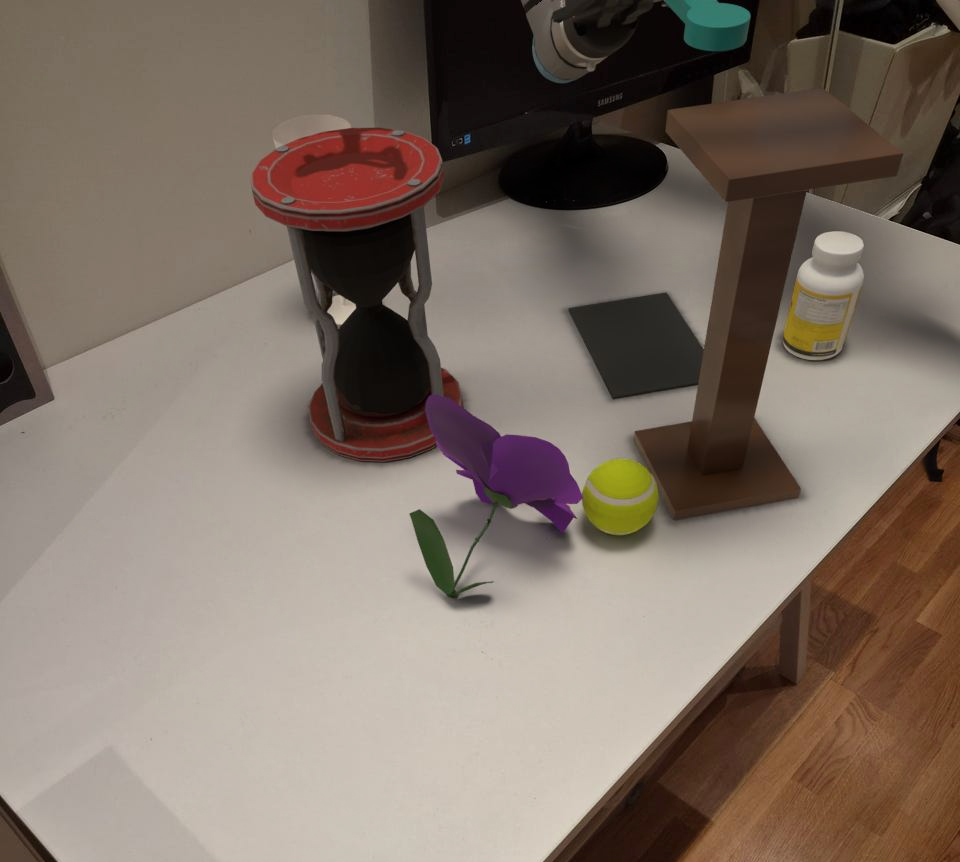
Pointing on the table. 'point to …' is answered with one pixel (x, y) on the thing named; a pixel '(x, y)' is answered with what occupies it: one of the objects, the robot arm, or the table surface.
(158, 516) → the table surface
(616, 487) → the tennis ball
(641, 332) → the mat
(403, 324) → the hourglass
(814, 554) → the table surface
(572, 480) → the flower
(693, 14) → the measuring spoon
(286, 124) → the wineglass
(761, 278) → the stand
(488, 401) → the table surface
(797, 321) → the pill bottle
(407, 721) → the table surface
